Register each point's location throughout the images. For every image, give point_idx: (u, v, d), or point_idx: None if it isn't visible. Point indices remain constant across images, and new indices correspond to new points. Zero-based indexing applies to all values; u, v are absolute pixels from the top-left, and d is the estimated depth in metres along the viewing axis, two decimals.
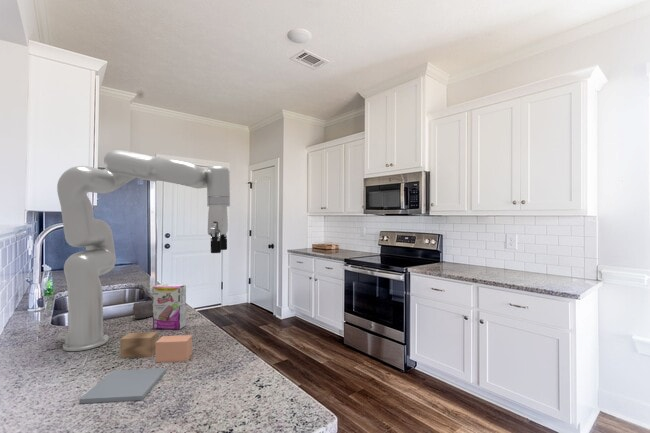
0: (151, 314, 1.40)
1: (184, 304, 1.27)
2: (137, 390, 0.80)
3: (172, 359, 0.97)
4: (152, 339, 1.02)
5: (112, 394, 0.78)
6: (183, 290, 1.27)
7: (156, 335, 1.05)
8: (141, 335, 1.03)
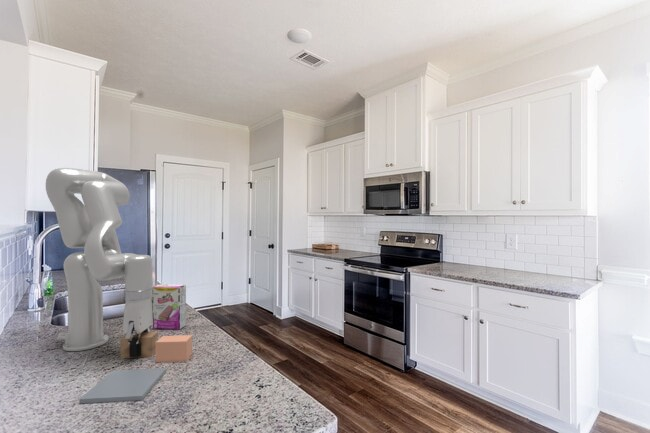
0: None
1: (184, 304, 1.27)
2: (137, 390, 0.80)
3: (172, 359, 0.97)
4: (152, 338, 1.02)
5: (112, 394, 0.78)
6: (183, 290, 1.27)
7: (156, 335, 1.05)
8: (141, 335, 1.03)
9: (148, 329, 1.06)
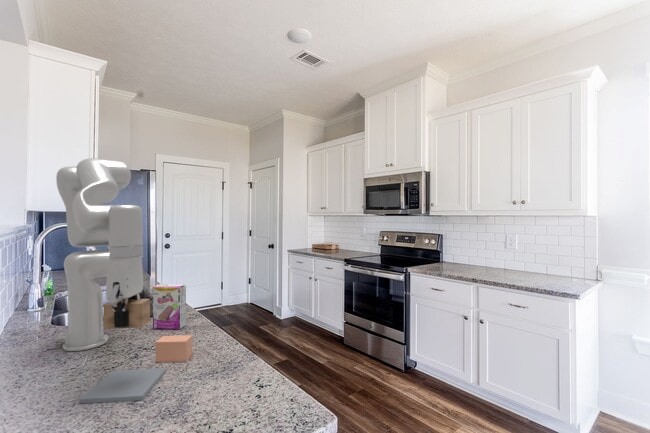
0: (151, 314, 1.40)
1: (184, 304, 1.27)
2: (137, 390, 0.80)
3: (172, 359, 0.97)
4: (143, 305, 0.84)
5: (112, 394, 0.78)
6: (183, 290, 1.27)
7: (148, 302, 0.87)
8: (130, 301, 0.85)
9: (138, 296, 0.88)
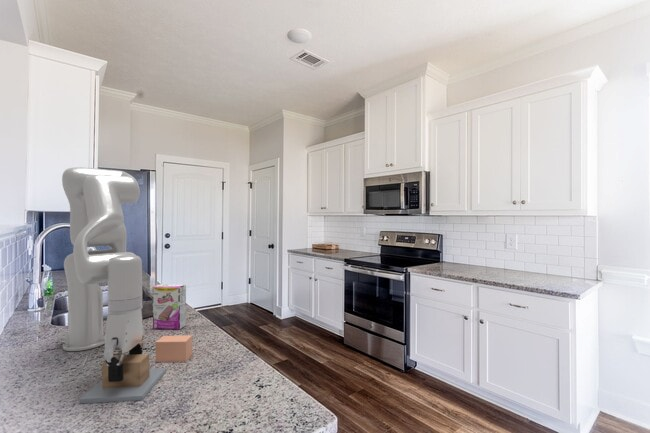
0: (151, 314, 1.40)
1: (184, 304, 1.27)
2: (137, 390, 0.80)
3: (171, 359, 0.97)
4: (141, 364, 0.82)
5: (112, 394, 0.78)
6: (183, 290, 1.27)
7: (147, 358, 0.85)
8: (128, 359, 0.83)
9: (140, 340, 0.88)
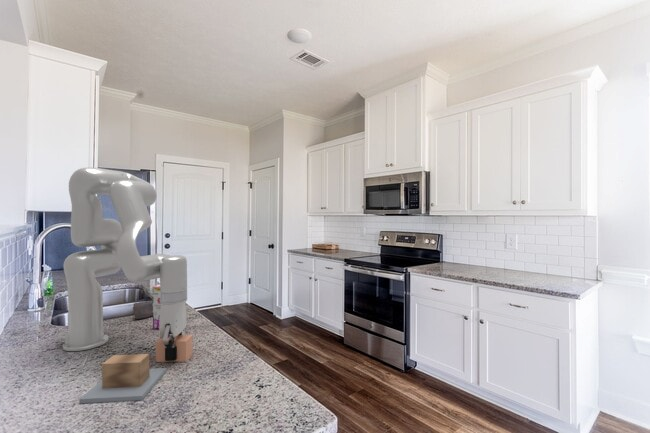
0: (151, 314, 1.40)
1: None
2: (137, 390, 0.80)
3: None
4: (141, 364, 0.82)
5: (112, 394, 0.78)
6: None
7: (147, 358, 0.85)
8: (128, 359, 0.83)
9: (182, 332, 1.03)
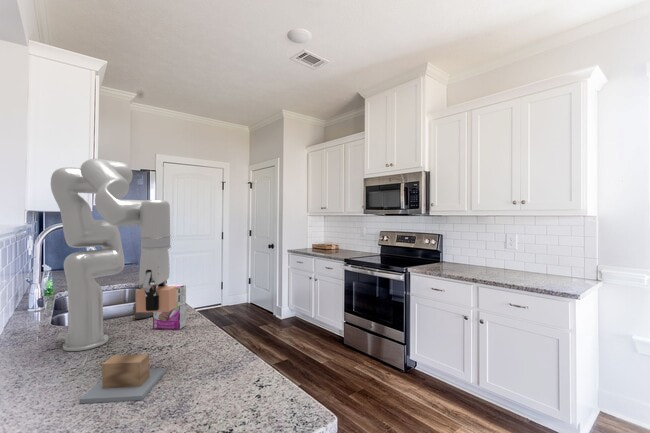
0: (151, 314, 1.40)
1: (184, 304, 1.27)
2: (137, 390, 0.80)
3: None
4: (141, 364, 0.82)
5: (112, 394, 0.78)
6: (183, 290, 1.27)
7: (147, 358, 0.85)
8: (128, 359, 0.83)
9: (165, 283, 0.96)
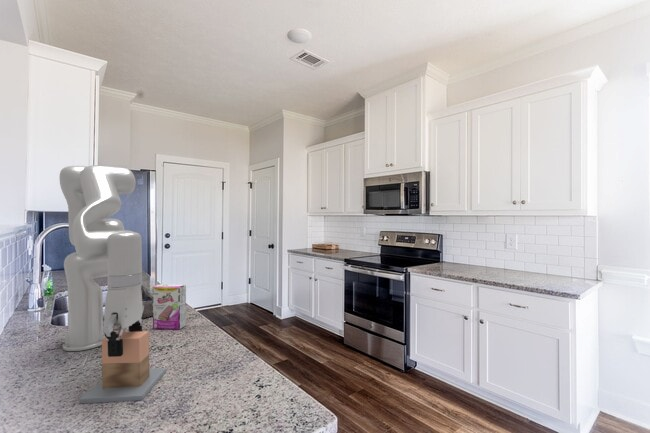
0: (151, 314, 1.40)
1: (184, 304, 1.27)
2: (137, 390, 0.80)
3: (122, 360, 0.81)
4: (141, 364, 0.82)
5: (112, 394, 0.78)
6: (183, 290, 1.27)
7: (147, 358, 0.85)
8: None
9: (140, 317, 0.89)
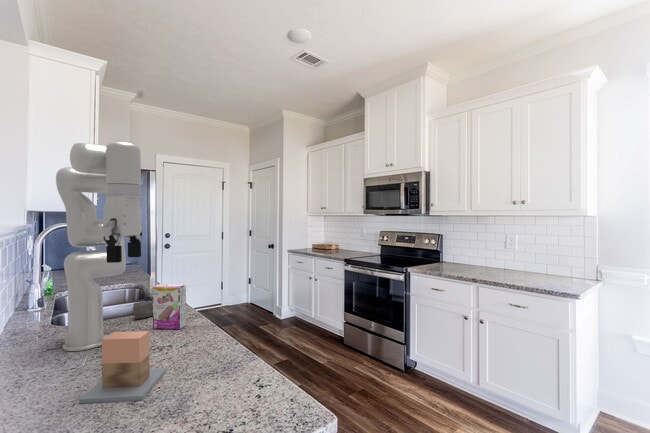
0: (151, 314, 1.40)
1: (184, 304, 1.27)
2: (137, 390, 0.80)
3: (122, 360, 0.81)
4: (141, 364, 0.82)
5: (112, 394, 0.78)
6: (183, 290, 1.27)
7: (147, 358, 0.85)
8: None
9: (139, 234, 0.88)
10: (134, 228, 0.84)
